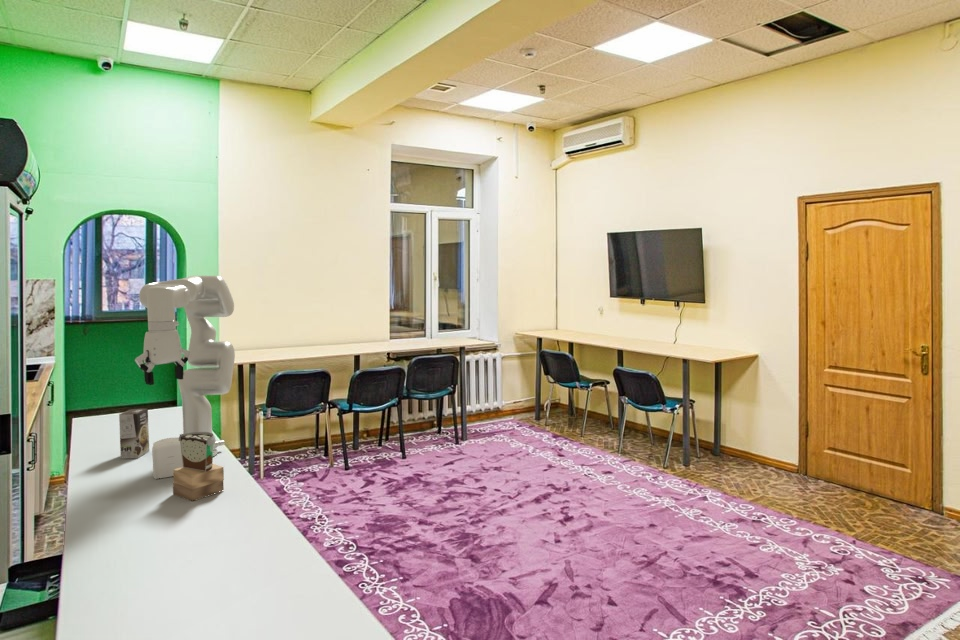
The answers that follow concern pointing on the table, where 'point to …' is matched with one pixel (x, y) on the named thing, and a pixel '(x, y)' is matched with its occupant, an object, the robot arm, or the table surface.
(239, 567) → the table surface
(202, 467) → the food container
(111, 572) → the table surface
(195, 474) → the oak slab
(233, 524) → the table surface
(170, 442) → the photo printer
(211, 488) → the tan cardboard flat block
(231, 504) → the table surface
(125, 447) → the coffee box
